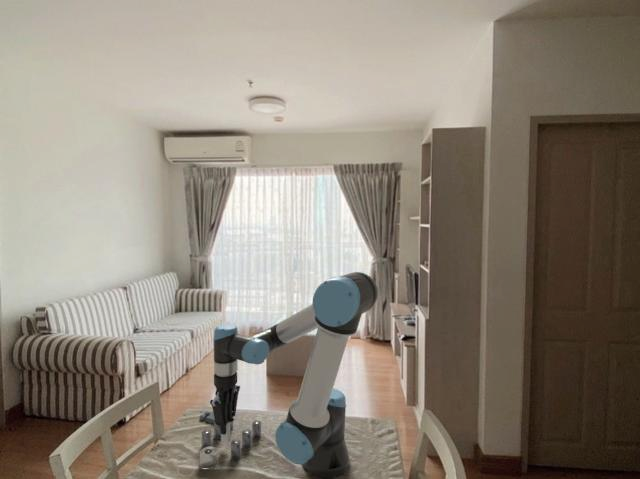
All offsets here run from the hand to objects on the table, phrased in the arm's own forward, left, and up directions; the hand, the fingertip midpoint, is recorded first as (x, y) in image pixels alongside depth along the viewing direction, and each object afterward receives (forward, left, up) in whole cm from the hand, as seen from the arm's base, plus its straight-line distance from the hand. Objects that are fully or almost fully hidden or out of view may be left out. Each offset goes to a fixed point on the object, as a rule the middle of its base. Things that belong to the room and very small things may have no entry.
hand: (225, 441), depth 117 cm
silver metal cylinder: (+1, +8, -3) cm, 8 cm away
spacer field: (+1, -4, -3) cm, 5 cm away
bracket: (+15, -12, -3) cm, 19 cm away
